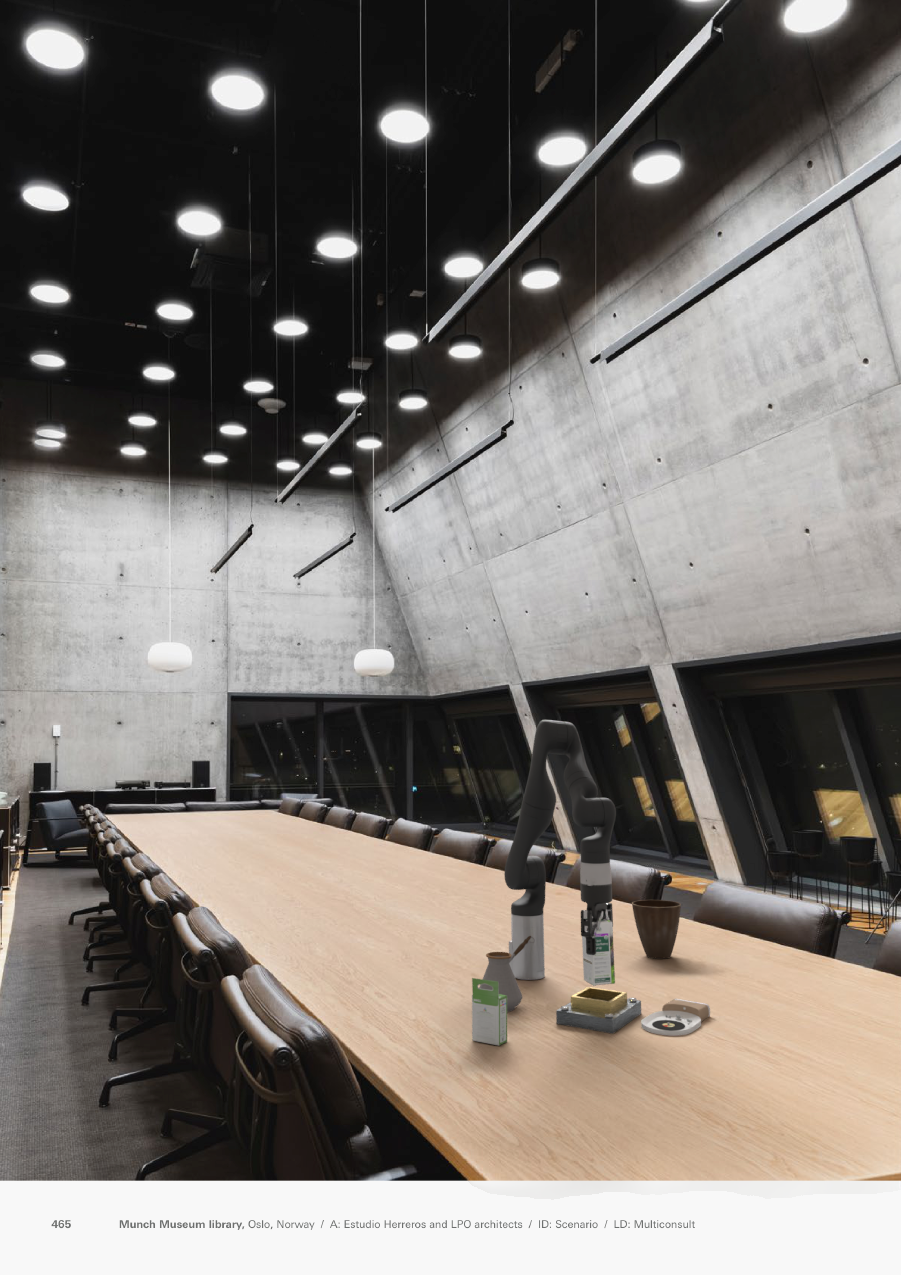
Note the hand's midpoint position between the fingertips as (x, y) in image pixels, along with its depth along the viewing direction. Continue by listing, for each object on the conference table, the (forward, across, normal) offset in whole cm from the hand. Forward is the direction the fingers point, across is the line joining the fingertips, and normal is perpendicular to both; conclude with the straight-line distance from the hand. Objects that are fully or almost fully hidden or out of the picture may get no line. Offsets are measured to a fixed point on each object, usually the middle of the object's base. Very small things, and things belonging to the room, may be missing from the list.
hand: (598, 951), depth 211 cm
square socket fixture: (+15, 0, 0) cm, 15 cm away
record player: (+16, -6, +16) cm, 24 cm away
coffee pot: (+16, 0, -24) cm, 29 cm away
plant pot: (+16, -70, -10) cm, 72 cm away
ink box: (+16, +28, -14) cm, 35 cm away
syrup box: (+7, 0, 0) cm, 7 cm away
